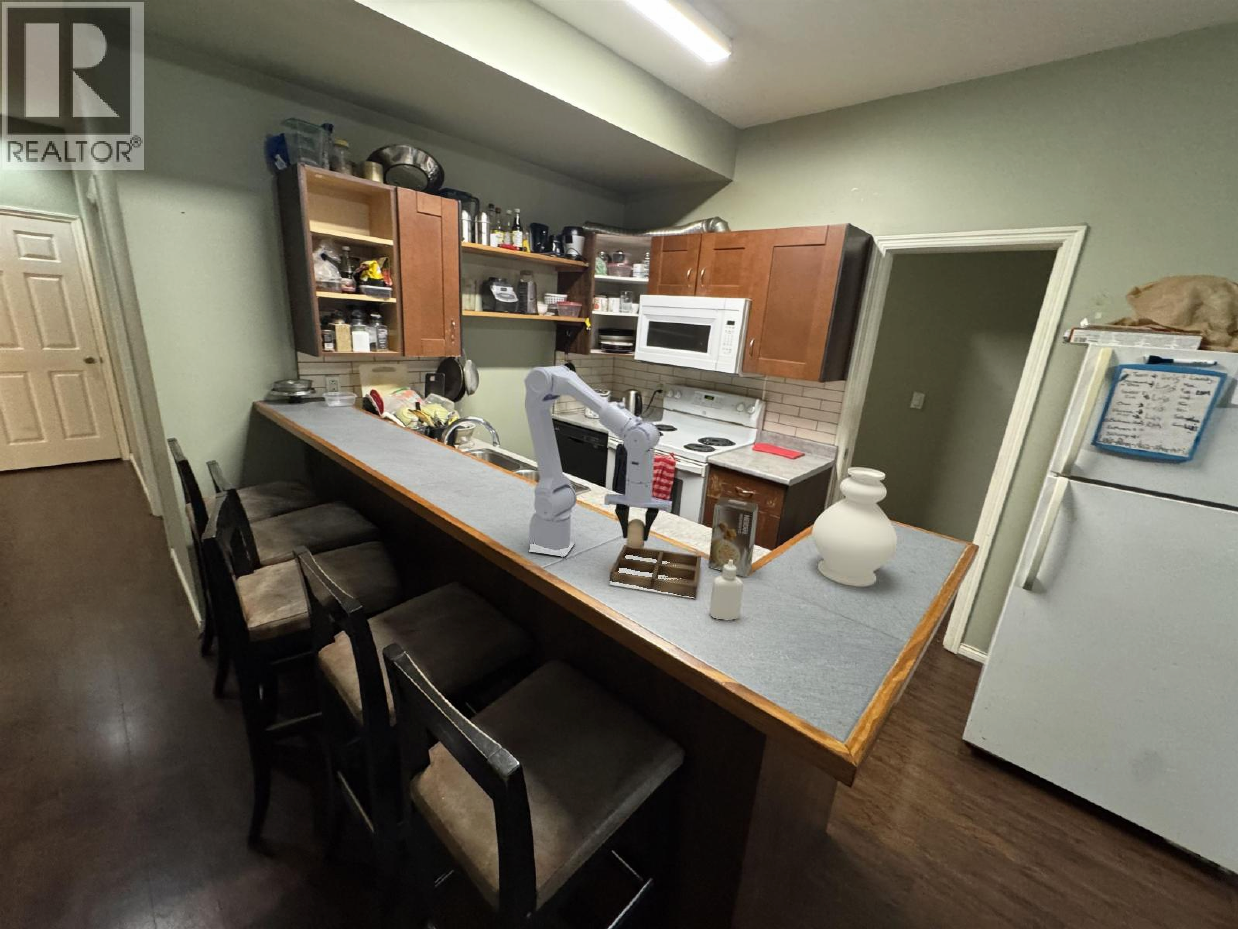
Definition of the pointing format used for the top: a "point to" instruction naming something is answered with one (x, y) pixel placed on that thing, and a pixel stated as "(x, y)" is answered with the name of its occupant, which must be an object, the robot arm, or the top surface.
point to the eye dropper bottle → (726, 594)
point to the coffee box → (733, 534)
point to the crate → (659, 570)
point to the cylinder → (635, 534)
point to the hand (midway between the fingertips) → (635, 538)
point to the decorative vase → (855, 531)
